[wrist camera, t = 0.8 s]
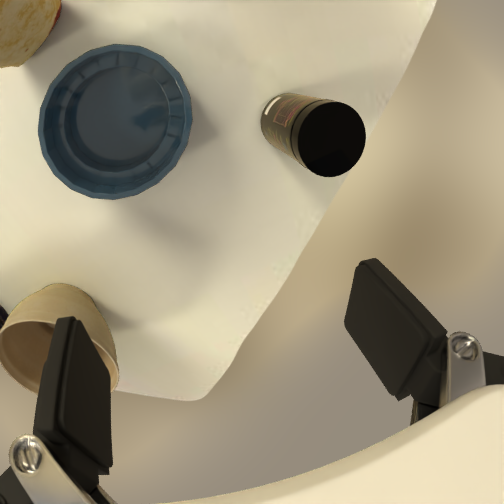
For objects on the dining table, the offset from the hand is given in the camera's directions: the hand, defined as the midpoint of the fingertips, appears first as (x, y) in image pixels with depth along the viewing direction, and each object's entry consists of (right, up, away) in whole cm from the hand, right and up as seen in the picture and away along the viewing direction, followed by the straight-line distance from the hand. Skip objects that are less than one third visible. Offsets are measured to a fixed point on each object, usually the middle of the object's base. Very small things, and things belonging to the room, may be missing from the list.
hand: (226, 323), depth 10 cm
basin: (-13, +16, +17) cm, 27 cm away
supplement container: (+5, +17, +23) cm, 29 cm away
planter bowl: (-25, -6, +27) cm, 37 cm away
